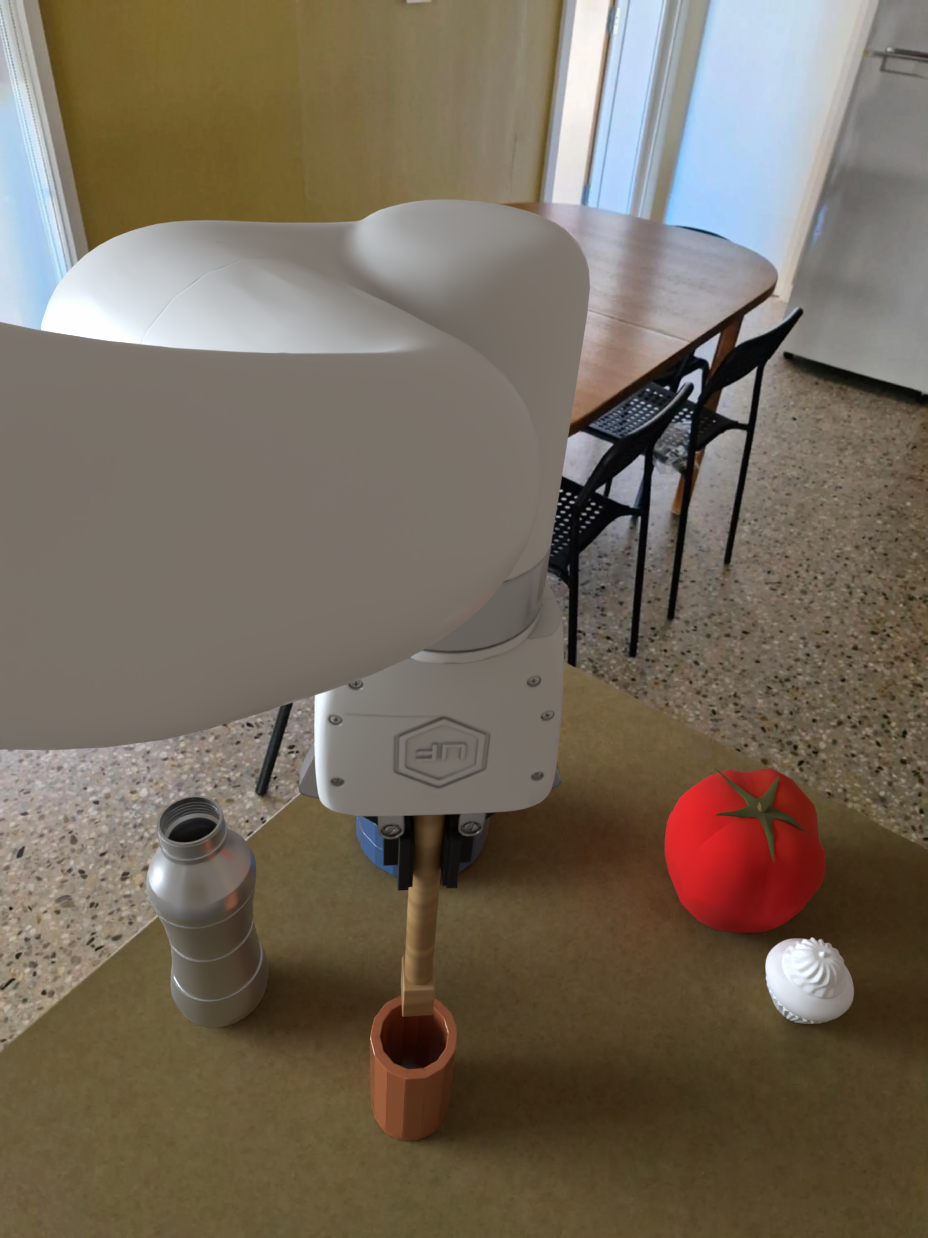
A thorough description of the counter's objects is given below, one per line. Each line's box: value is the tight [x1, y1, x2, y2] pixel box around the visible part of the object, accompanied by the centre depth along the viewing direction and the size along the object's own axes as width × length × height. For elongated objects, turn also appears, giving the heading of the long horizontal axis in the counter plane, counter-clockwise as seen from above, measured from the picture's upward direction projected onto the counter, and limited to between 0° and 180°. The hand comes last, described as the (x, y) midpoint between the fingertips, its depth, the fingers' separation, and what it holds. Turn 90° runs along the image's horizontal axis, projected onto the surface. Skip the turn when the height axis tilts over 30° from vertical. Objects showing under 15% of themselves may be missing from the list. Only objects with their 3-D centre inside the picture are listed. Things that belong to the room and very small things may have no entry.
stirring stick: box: [400, 814, 446, 1017], centre depth 47 cm, size 2×2×19 cm
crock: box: [369, 994, 459, 1142], centre depth 56 cm, size 5×5×9 cm
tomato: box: [664, 767, 827, 934], centre depth 70 cm, size 12×13×12 cm
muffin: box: [764, 937, 855, 1025], centre depth 64 cm, size 6×6×7 cm
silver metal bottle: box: [145, 795, 270, 1029], centre depth 58 cm, size 6×7×20 cm
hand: (425, 863), depth 45 cm, fingers closed on stirring stick, 1 cm apart
